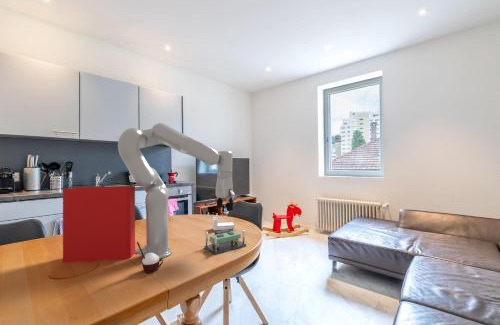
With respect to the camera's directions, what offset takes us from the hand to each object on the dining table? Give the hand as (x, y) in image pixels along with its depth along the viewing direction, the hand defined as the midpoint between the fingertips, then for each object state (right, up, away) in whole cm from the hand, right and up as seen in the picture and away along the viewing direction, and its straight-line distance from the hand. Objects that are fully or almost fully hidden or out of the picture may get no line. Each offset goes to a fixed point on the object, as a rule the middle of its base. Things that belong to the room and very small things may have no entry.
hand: (224, 209), depth 117 cm
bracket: (-4, -20, +32) cm, 38 cm away
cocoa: (-27, -20, -25) cm, 42 cm away
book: (-55, -20, -12) cm, 59 cm away
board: (0, -15, 0) cm, 15 cm away
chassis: (+1, -19, 0) cm, 19 cm away
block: (-3, -19, +14) cm, 24 cm away
